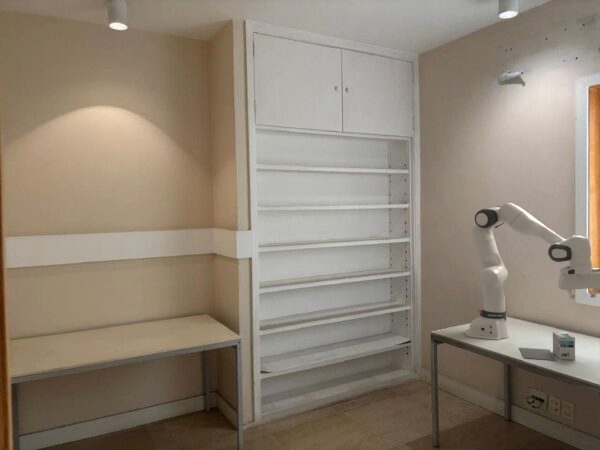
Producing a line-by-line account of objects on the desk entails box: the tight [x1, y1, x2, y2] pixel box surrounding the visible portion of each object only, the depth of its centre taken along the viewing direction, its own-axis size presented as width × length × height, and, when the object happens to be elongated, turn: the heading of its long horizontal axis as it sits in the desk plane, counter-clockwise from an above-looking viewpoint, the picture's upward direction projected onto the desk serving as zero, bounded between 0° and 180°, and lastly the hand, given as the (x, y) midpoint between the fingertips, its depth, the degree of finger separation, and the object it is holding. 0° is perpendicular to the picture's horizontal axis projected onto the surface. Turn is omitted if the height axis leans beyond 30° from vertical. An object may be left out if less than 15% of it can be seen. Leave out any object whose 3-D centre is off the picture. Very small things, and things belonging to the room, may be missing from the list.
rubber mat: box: [518, 347, 558, 362], centre depth 229 cm, size 14×16×1 cm
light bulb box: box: [552, 330, 576, 361], centre depth 226 cm, size 11×7×11 cm, turn 170°
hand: (582, 297), depth 227 cm, fingers open, 8 cm apart
